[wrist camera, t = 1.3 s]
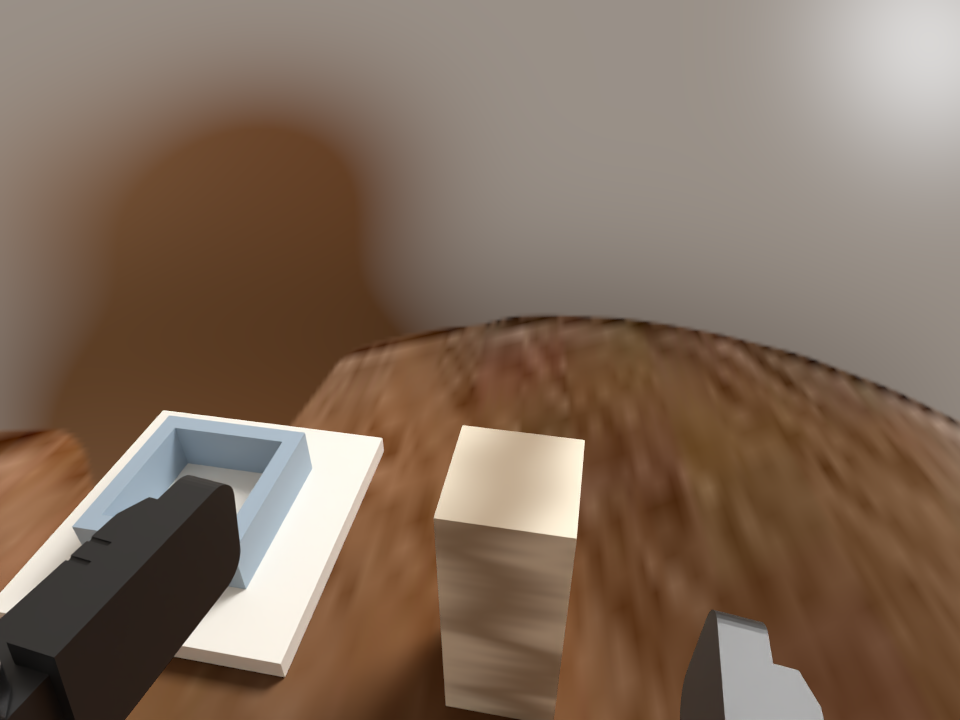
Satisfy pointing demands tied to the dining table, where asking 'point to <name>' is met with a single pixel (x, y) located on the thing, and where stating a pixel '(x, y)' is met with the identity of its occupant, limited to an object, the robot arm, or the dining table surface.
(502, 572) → the birch post
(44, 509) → the dining table surface
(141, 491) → the sleeve holder
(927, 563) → the dining table surface
